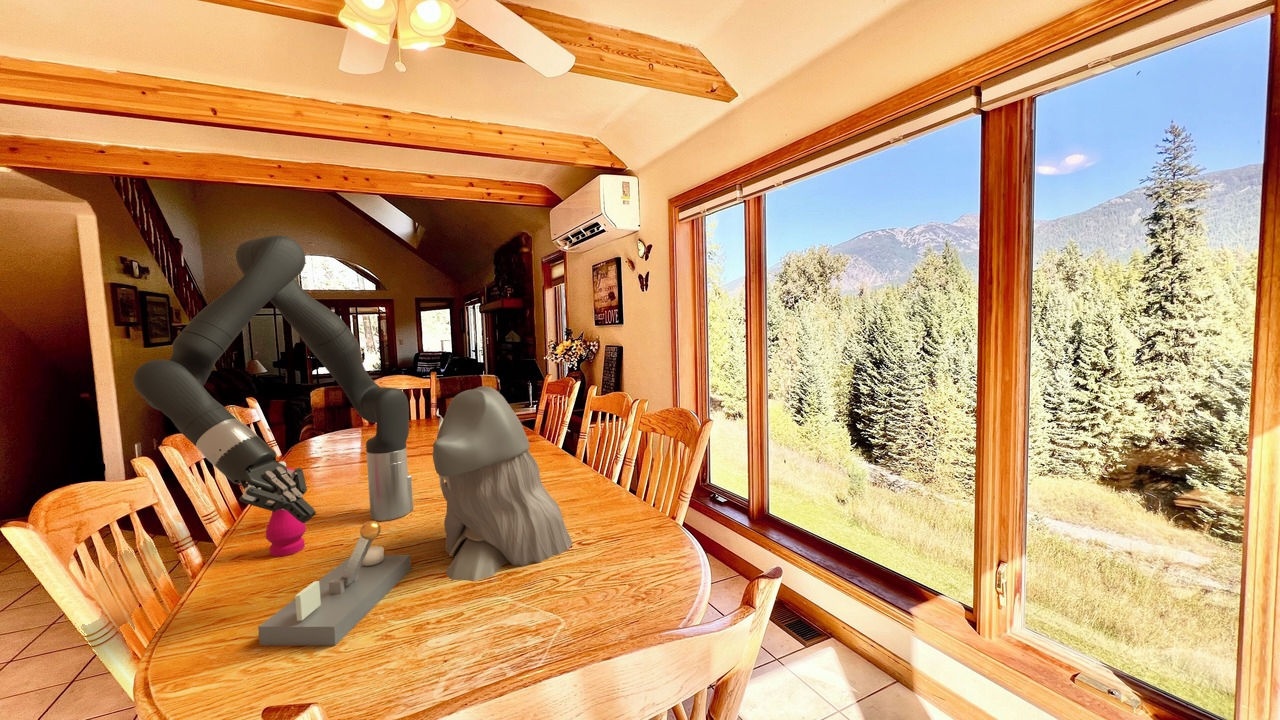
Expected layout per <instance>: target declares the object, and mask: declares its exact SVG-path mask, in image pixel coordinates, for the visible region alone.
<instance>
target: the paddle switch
mask: <svg viewBox="0 0 1280 720" xmlns="http://www.w3.org/2000/svg"><path fill="white" fill-rule="evenodd" d="M294 599H295V600H296V614H297V621H302V620H303V619H304V618H306V617H307V616H308V615H309V614H310V613H312V612H313V611H314V610H315V609H316V608H318V607H319V606H320V605H321V600H320V586H319V580H314V581H312V583H310V584H309V585H308V586H306V587H305V588H303V589H302V590H301V591H300V592H298V593H296V594H295V598H294Z"/></svg>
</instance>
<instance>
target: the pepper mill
mask: <svg viewBox="0 0 1280 720" xmlns="http://www.w3.org/2000/svg"><path fill="white" fill-rule="evenodd" d="M277 462H278V463H280V464H282V465H284V466H285V467H286V468H287V469H288V470H293V471H295V470H296V469H293V468H290V467H287V463H286V461H277ZM272 504H273V503H272ZM306 526H307V525H306V522H305V523H301V522H300V521H298V520H297V519H296V518H295V517H294V516H293V515H291V514H290V513H289V512H288V511H287V510H282V509H278V510H277V511H276V512H273V511H271V515H270V518H269V522H268V524H267V527H266V530H265V538H266V540H267V541H268V542H269V543H270V546H269V554H270V556H271V557H278V558H279V557H280V558H281V557H287V556H291V555H294V554H297V553H299V552H301V551H302V550H303V549H304V548H305V547H306V546H305V545H306V544H305V538H303V535H304V534H305V533H306V530H307V527H306Z"/></svg>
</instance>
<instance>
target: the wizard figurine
mask: <svg viewBox="0 0 1280 720" xmlns="http://www.w3.org/2000/svg"><path fill="white" fill-rule="evenodd" d="M435 414H436V415H435V416H437V417H439V420H438V432H437V433H436V440H435V441H434V442H433V444H432V447H433V448H432V450H433V451H432V460H433V464H434V469H435V472H436V473H437V475H438V478H439V487H440V490H441V492H442V496H443V497H444V499H445V501H446V514H445V517H444V520H443V521H444V523H443V525H444V526H443V527H444V532H445V537H446V538H445V545H446V546H445V551H446V552H448V556H450V557H453V560H452V561H451V563H450V564H449V566H448V568H447V570H446V571H445V573H446V576H447V577H448V578H449V579H450V580H452V581H454V580H455V581H470V582H476V581H479V580H482V579H483V580H484V579H487V578H490V577H493V576H494V575H495V574H496V573H497V572H498V571H499V570H500V569H501V568H502V567H503V566H504V565H505V564H506V563H510V564H511V565H513V566H515V567H516V566H521V567H524V566H525V567H526V566H528V565H529V564H532V563H537V564H538V563H542V562H543V561H545V560H549V559H550V558H552V557H553V556H559V555H561V554H562V553H563V554H564V553H565V552H567V551H569V550H570V548H571V546H572V545H573V541H572V539H571V536H570V534H569V532H568V529H567V527H566V524H565V521H564V518H563V514H562V510H561V508H560V506H559V504H558V503H557V502H556V500H554V499H553V497H552V496H551V495H550V494H549V491H547V489H546V488H545V486H544V485H543V483H542V479H541V475H540V474H541V473H540V467H539V464H538V463H537V461H536V459H535V458H534V456H533V455H532V454H531V451H530V450H529V449H530V442H529V439H528V436H527V434H526V432H525V429H524V426H523V423H522V422H521V421H520V418H519V417H518V416H517V414H516V413H515V411H514V410H513V408H512V407H511V405H510V404H509V403H508V401H507V400H506V398H505V397H504V396H503V395H502V394H501V393H500V392H499V391H498V390H496V389H495V388H493V387H491V386H486V385H485V386H484V385H483V386H478V387H476V388H473V389H467V390H464V391H461V392H459V393H458V394H456V395H455V396H454V397H453V398H452V399H451V401H450V402H449V404H448V406H447V409H446V412H445V414H444V416H443V417H442V415H440V414H439V408H437V411H436V413H435Z"/></svg>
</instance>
